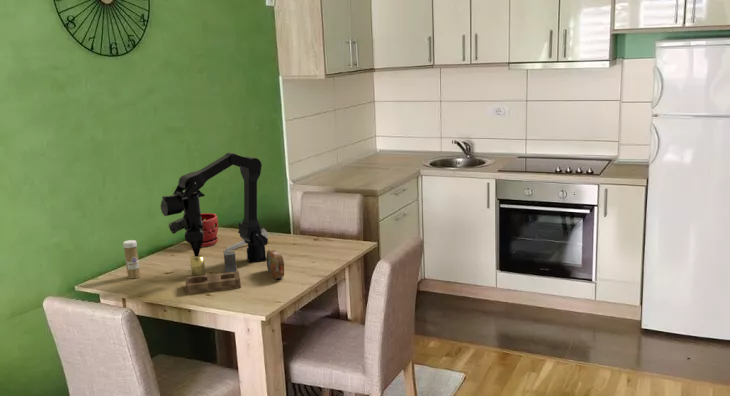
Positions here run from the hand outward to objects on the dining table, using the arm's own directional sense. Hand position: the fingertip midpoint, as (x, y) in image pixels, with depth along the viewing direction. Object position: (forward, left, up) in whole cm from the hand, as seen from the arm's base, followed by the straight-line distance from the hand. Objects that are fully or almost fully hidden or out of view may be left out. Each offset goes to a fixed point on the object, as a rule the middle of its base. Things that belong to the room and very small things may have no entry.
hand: (196, 252), depth 244 cm
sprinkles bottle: (+23, -7, -9) cm, 26 cm away
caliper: (-19, -31, -9) cm, 37 cm away
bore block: (-5, +15, -9) cm, 18 cm away
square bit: (-11, 0, -9) cm, 14 cm away
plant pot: (-2, -41, -9) cm, 42 cm away
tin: (-27, +10, -9) cm, 30 cm away
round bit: (0, 0, -9) cm, 9 cm away
